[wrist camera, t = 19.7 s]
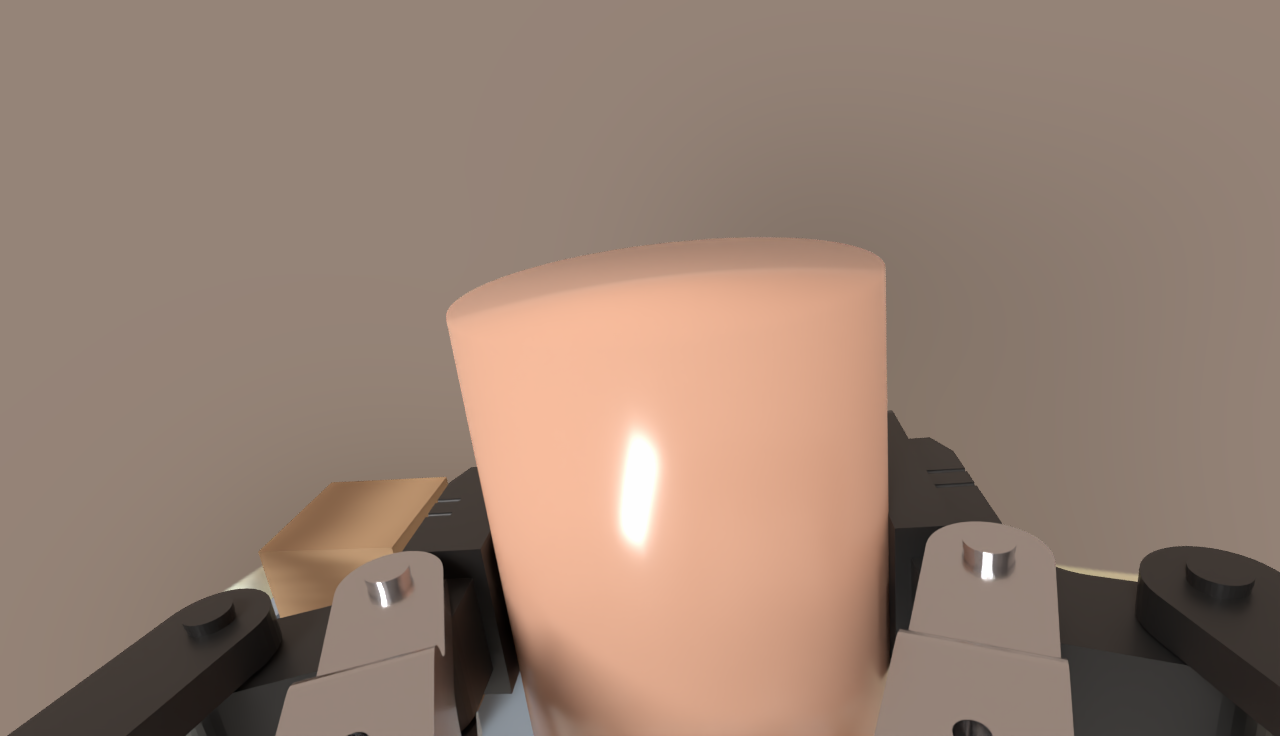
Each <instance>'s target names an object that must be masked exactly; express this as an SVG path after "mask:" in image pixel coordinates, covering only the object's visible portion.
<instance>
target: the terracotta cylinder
mask: <svg viewBox="0 0 1280 736" xmlns="http://www.w3.org/2000/svg"><path fill="white" fill-rule="evenodd" d="M885 275H886V272H885V264H884V262H883V261H882V259H881V258H879V257H878V256H877V255H875V254H874V253H872V252H869V251H867V250H865V249H862V248H858V247H855V246H852V245H847V244H842V243H836V242H831V241H823V240H814V239H802V238H782V237H781V238H780V237H742V238H716V239H701V240H689V241H678V242H668V243H659V244H651V245H643V246H636V247H629V248H622V249H616V250H610V251H604V252H599V253H593V254H588V255H583V256H578V257H574V258H569V259H564V260H560V261H556V262H552V263H548V264H544V265H540V266H537V267H533V268H529V269H526V270H523V271H519V272H517V273H513V274H510V275H507V276H504V277H502V278H499V279H496V280H493V281H491V282H489V283H487V284H484V285H482V286H480V287H478V288H476V289H474V290H472V291H470V292H468V293H466V294H465V295H463V296H462V297H461V298H459V299H457V300H456V301H455V302H454V303H453V304H452V305H451V306H450V308H449V309H448V311H447V315H446V316H447V317H446V320H447V325H448V330H449V335H450V339H451V344H452V348H453V354H454V358H455V362H456V368H457V373H458V377H459V382H460V387H461V391H462V397H463V401H464V406H465V411H466V415H467V420H468V425H469V430H470V435H471V439H472V444H473V449H474V454H475V459H476V463H477V468H478V473H479V478H480V482H481V487H482V492H483V497H484V502H485V506H486V511H487V516H488V521H489V525H490V530H491V535H492V540H493V544H494V549H495V554H496V559H497V564H498V568H499V573H500V578H501V583H502V587H503V592H504V597H505V602H506V606H507V611H508V616H509V621H510V626H511V630H512V635H513V640H514V645H515V649H516V654H517V659H518V664H519V669H520V673H521V678H522V683H523V688H524V692H525V697H526V702H527V707H528V711H529V716H530V721H531V726H532V731H533V735H534V736H874V734H875V729H876V725H877V720H878V716H879V711H880V707H881V702H882V698H883V693H884V689H885V685H886V680H887V676H888V671H889V667H890V610H889V535H888V512H889V507H888V429H887V356H886V355H887V352H886V351H887V350H886V281H885V280H886V278H885V277H886V276H885Z"/></svg>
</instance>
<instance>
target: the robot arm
mask: <svg viewBox="0 0 1280 736" xmlns="http://www.w3.org/2000/svg"><path fill="white" fill-rule="evenodd" d="M887 429H888V507H889V512H888V535H889V610H890V667H889V671H888V676H887V680H886V685H885V689H884V693H883V698H882V702H881V707H880V711H879V716H878V720H877V725H876V729H875V734H874V736H1280V572H1278V571H1276V570H1275V569H1273V568H1271V567H1269V566H1267V565H1265V564H1263V563H1260V562H1258V561H1256V560H1253V559H1251V558H1248V557H1245V556H1242V555H1239V554H1235V553H1231V552H1228V551H1223V550H1218V549H1213V548H1205V547H1193V546H1182V547H1180V546H1179V547H1170V548H1164V549H1160V550H1157V551H1154V552H1152V553H1150V554H1148V555H1147V556H1146V557H1145V558H1144V559H1143V560H1142V562H1141V564H1140V568H1139V577H1138V582H1134V581H1127V580H1119V579H1112V578H1105V577H1098V576H1091V575H1085V574H1079V573H1075V572H1071V571H1067V570H1064V569H1061V568H1058V567H1056V564H1055V558H1054V555H1053V553H1052V551H1051V549H1050V548H1049V547H1048V546H1047V545H1046V544H1045V543H1044V542H1042V541H1041V540H1040V539H1038V538H1037V537H1035V536H1033V535H1032V534H1029V533H1027V532H1025V531H1023V530H1020V529H1018V528H1015V527H1012V526H1007V525H1003V524H1002V523H1001V521H1000V520H999V518H998V517H997V515H996V514H995V512H994V511H993V509H992V508H991V507H990V505H989V503H988V502H987V500H986V499H985V497H984V496H983V494H982V493H981V491H980V490H979V489H978V487H977V486H975V485H974V481H973V480H972V478H971V477H970V475H969V474H968V472H967V471H965V468H964V466H963V465H962V463H961V462H960V461H959V459H958V457H957V456H956V454H955V453H954V452H953V451H952V450H950V449H949V448H947V447H945V446H943V445H942V444H940V443H938V442H937V441H935V440H933V439H931V438H915V439H908V437H907V435H906V434H905V432H904V430H903V428H902V427H901V425H900V423H899V421H898V420H897V418H896V416H895V414H894V413H893V411H891V410H890V411H887ZM519 672H520V669H519V664H518V659H517V654H516V649H515V645H514V640H513V635H512V630H511V626H510V621H509V616H508V611H507V606H506V602H505V597H504V592H503V587H502V583H501V578H500V573H499V568H498V564H497V559H496V554H495V549H494V544H493V540H492V535H491V530H490V525H489V521H488V516H487V511H486V506H485V502H484V497H483V492H482V487H481V482H480V478H479V473H478V468H477V467H472V468H470V469H468V470H467V471H465V472H464V473H463V474H461V475H460V476H458V477H457V478H455V479H454V480H453V481H451V482H450V483H449V484H448V485H447V487H446V488H445V490H444V491H443V493H442V494H441V496H440V497H439V498H438V503H435V504H434V506H433V507H432V509H431V510H430V512H429V513H428V517H425V519H424V520H423V522H422V523H421V525H420V526H419V527H418V529H417V530H416V532H415V533H414V535H413V536H412V538H411V539H410V540H409V542H408V543H407V545H406V546H405V548H404V549H403V551H402V552H398V553H393V554H389V555H385V556H382V557H379V558H377V559H374V560H372V561H370V562H367V563H365V564H364V565H362V566H360V567H358V568H357V569H355V570H354V571H352V572H351V573H350V574H349V575H347V576H346V577H345V578H344V579H343V580H342V581H341V582H340V584H339V585H338V587H337V588H336V591H335V594H334V598H333V602H332V605H331V606H327V607H324V608H319V609H315V610H311V611H307V612H303V613H299V614H295V615H291V616H287V617H283V618H278V619H277V617H276V614H275V611H274V608H273V605H272V602H271V599H270V597H269V596H268V595H267V594H266V593H265V592H263V591H261V590H256V589H236V590H230V591H225V592H221V593H218V594H215V595H212V596H209V597H206V598H204V599H201V600H199V601H197V602H195V603H193V604H191V605H189V606H187V607H185V608H183V609H182V610H180V611H179V612H177V613H175V614H174V615H172V616H171V617H170V618H168V619H167V620H165V621H164V622H163V623H161V624H160V625H159V626H157V627H156V628H154V629H153V630H152V631H150V632H149V633H148V634H146V635H145V636H144V637H142V638H141V639H139V640H138V641H137V642H135V643H134V644H133V645H131V646H130V647H128V648H127V649H126V650H124V651H123V652H122V653H120V654H119V655H117V656H116V657H115V658H114V659H112V660H111V661H109V662H108V663H107V664H105V665H104V666H102V667H101V668H100V669H98V670H97V671H96V672H94V673H93V674H91V675H90V676H89V677H87V678H86V679H85V680H83V681H82V682H80V683H79V684H78V685H76V686H75V687H74V688H72V689H71V690H69V691H68V692H67V693H65V694H64V695H63V696H61V697H60V698H58V699H57V700H56V701H54V702H53V703H52V704H50V705H49V706H47V707H46V708H45V709H44V710H42V711H41V712H39V713H38V714H37V715H35V716H34V717H32V718H31V719H30V720H28V721H27V722H26V723H24V724H23V725H21V726H20V727H19V728H17V729H16V730H15V731H13V732H12V733H11V734H9V735H8V736H482V729H481V724H480V720H479V716H478V711H477V710H478V707H479V705H480V702H481V700H482V697H483V694H512V692H513V689H514V686H515V684H516V681H517V678H518V675H519Z"/></svg>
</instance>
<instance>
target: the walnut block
mask: <svg viewBox="0 0 1280 736" xmlns="http://www.w3.org/2000/svg"><path fill="white" fill-rule="evenodd" d="M447 485H448V482H447V478H446V477H436V478H415V479H395V480H374V481H355V482H333V483H331V484H330V485H328V486H327V487H326V489H324V490H323V491H322V492H321V493H320V494H319V495H318V496H317V497H316V498H315V499H314V500H313V501H312V502H310V503H309V504H308V505H307V506H306V507H305V508H304V509H303V510H302V511H301V512H300V513H299V514H298V515H297V516H296V517H295V518H294V519H293V520H291V522H290V523H288V524H287V525H286V526H285V527H284V528H283V529H282V530H281V531H280V532H279V533H278V534H277V535H276V536H275V537H274V538H272V539H271V540H270V541H269V542H268V543H267V544H266V545H265V546H264V547H263V548H262V549H261V550H260V551H259V552H258V553H259V556H260V558H261V562H262V565H263V568H264V571H265V574H266V577H267V580H268V583H269V586H270V589H271V592H272V595H273V598H274V601H275V604H276V607H277V610H278V613H279V616H280V618H283V617H287V616H291V615H295V614H299V613H303V612H307V611H311V610H315V609H319V608H324V607H327V606H331V605H332V602H333V598H334V594H335V591H336V588H337V587H338V585H339V584H340V582H341V581H342V580H343V579H344V578H345V577H346V576H347V575H349V574H350V573H351V572H352V571H354V570H355V569H357V568H358V567H360V566H362V565H364V564H365V563H367V562H370V561H372V560H374V559H377V558H379V557H382V556H385V555H389V554H393V553H398V552H402V551H403V549H404V548H405V546H406V545H407V543H408V542H409V540H410V539H411V538H412V536H413V535H414V533H415V532H416V530H417V529H418V527H419V526H420V525H421V523H422V522H423V520H424V519H425V517H428V513H429V512H430V510H431V509H432V507H433V506H434V504H435V503H438V498H439V497H440V496H441V494H442V493H443V491H444V490H445V488H446V487H447ZM484 696H485V694H483V697H482V700H481V702H480V705H481V703H482V701H483V698H484ZM480 705H479V707H478V710H479V708H480ZM478 710H477V711H478Z"/></svg>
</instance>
